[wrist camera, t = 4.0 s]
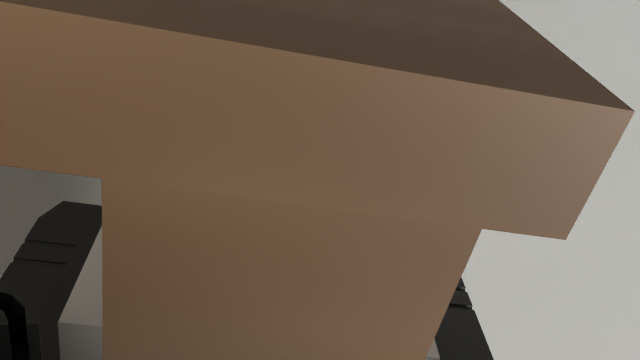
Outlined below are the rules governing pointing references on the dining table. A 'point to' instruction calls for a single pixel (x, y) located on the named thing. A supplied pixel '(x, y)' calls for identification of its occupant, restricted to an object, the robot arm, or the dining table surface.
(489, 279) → the dining table surface
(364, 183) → the wooden arch bridge
